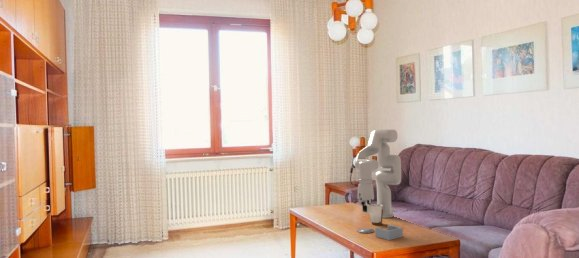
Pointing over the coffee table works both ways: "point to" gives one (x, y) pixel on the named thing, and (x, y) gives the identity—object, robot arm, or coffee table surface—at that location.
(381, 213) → the disposable coffee cup
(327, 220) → the coffee table surface
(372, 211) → the white lever knob
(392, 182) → the robot arm
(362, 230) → the grey round disc
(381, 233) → the holder
